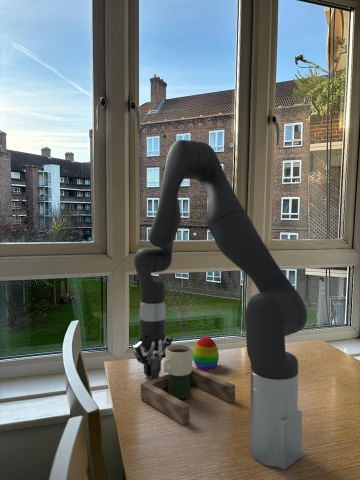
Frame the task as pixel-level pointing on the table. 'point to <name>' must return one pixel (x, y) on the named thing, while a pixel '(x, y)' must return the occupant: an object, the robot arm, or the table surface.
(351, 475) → the table surface
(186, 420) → the frame
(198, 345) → the decorative egg
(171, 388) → the character mug
